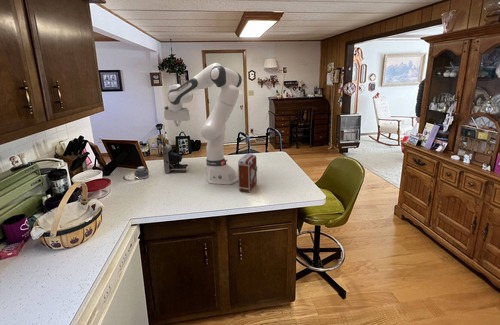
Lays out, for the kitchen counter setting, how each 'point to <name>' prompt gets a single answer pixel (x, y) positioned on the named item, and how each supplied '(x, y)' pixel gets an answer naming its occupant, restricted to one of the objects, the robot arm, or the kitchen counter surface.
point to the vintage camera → (172, 159)
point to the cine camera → (247, 172)
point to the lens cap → (140, 169)
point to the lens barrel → (142, 174)
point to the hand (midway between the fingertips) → (177, 126)
